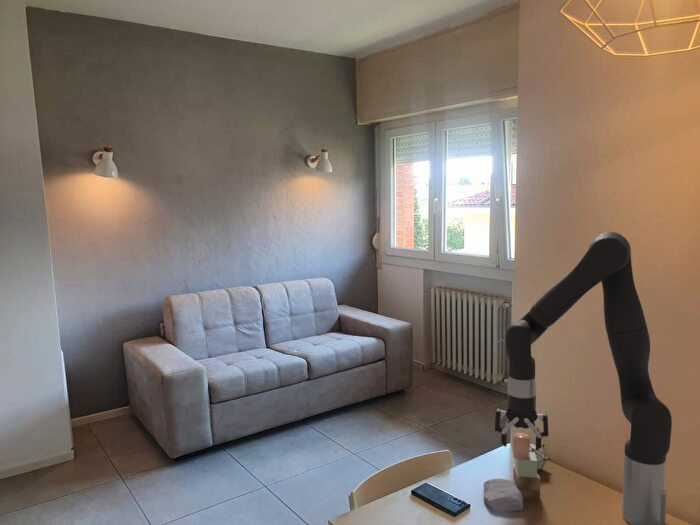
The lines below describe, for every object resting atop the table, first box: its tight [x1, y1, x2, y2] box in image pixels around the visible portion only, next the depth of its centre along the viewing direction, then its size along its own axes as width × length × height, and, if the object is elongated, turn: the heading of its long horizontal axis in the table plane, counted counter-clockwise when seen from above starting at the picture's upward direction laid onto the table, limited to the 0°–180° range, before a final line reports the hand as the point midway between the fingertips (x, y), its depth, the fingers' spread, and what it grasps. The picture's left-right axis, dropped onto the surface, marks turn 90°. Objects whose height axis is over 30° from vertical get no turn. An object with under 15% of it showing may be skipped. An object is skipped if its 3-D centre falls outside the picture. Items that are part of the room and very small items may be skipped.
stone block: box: [482, 478, 524, 512], centre depth 149 cm, size 12×5×10 cm
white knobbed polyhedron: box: [530, 442, 551, 473], centre depth 164 cm, size 9×8×10 cm
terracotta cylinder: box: [512, 432, 531, 460], centre depth 150 cm, size 4×4×6 cm
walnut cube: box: [512, 466, 541, 499], centre depth 152 cm, size 6×6×6 cm
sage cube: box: [515, 452, 538, 478], centre depth 151 cm, size 5×5×5 cm
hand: (521, 447), depth 150 cm, fingers open, 8 cm apart
